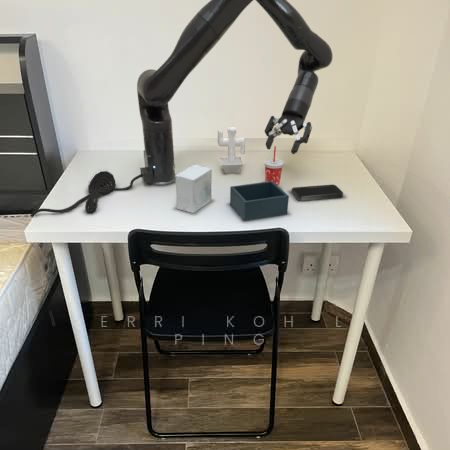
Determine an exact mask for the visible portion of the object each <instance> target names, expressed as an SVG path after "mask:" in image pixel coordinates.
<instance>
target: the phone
mask: <svg viewBox="0 0 450 450" xmlns="http://www.w3.org/2000/svg"><path fill="white" fill-rule="evenodd" d="M291 194H292V195H293V196H294V197H295V199H296V200H297V201H300V202H302V201H303V202H305V201H315V200H317V201H318V200H328V199H329V200H330V199H341V198H343V197H344V192H343V191H342V190H341V188H339V187H338V185H336V184H322V185H321V184H320V185H307V186H293V187H291Z"/></svg>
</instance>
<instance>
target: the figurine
mask: <svg viewBox="0 0 450 450" xmlns="http://www.w3.org/2000/svg"><path fill="white" fill-rule="evenodd" d="M223 133H224V132H223V130H222V129H221V128H219V129H218V130H217V145H218V146H219V147H226V148H227V157H219V159H220V163H221V166H222V169H223V171H224V173H225V175H234V174H236V175H237V174H239V173H240V171H241V170H242V167H243V166H244V162H243V160H242V157H241V156H240V157H239V156H236V147H239V148H240V150H239V151H240V154H241V155H245V153H246V138H244V137H236V134H237V127H236V126H232V125H231V126H228V127H227V137H224V134H223Z"/></svg>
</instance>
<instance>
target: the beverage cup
mask: <svg viewBox="0 0 450 450" xmlns="http://www.w3.org/2000/svg"><path fill="white" fill-rule="evenodd" d="M276 151H277V146H276V145H274V147H273V158H269V159H266V160H264V162H263V166H264V182H268V181H273V182H274V183H275V184H276V185H277V186H278V187H279V188H280V186H281V179H282V173H283V167H284V165H285V164H284V163H285V162H284V161H283V160H280V159H277V158H276Z"/></svg>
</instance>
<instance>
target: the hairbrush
mask: <svg viewBox="0 0 450 450" xmlns="http://www.w3.org/2000/svg"><path fill="white" fill-rule="evenodd" d="M92 175H93V176H91V178H90V179H89V181H88V182H87V183H88V185H87V189H88V194H90V193H92V194H91V195H90V197H89V198H88V199H86V200H85V204H84V209H85V212H86V213H87V214H91V215H92V214H93V213H94V212H95V211H96V210H97V207H98V198H99V196H101V195H102V196H103V195H108V194H111V193H112V192H113V188H116V179H115V177H114V174H113V173H112V172H110V171H109V170H106V169H104V170H103V171H102V170H100V171H99V172H98V171H95V173H93V174H92ZM101 188H104V189H102V190H101ZM105 188H107V189H105ZM109 188H110V189H109ZM98 189H100V190H98ZM95 190H97V191H95Z"/></svg>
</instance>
